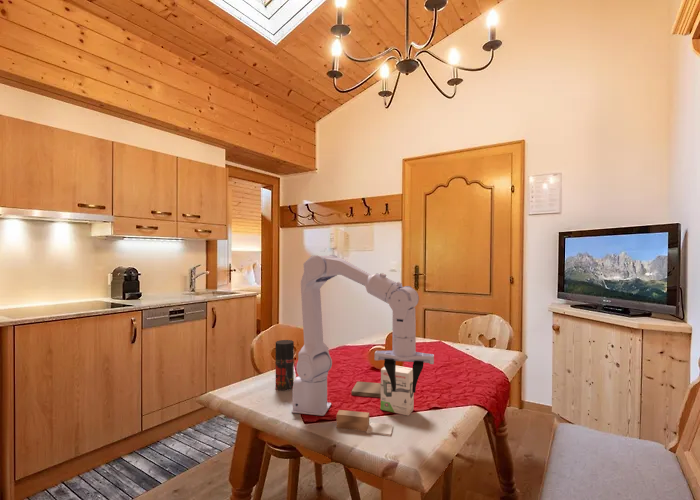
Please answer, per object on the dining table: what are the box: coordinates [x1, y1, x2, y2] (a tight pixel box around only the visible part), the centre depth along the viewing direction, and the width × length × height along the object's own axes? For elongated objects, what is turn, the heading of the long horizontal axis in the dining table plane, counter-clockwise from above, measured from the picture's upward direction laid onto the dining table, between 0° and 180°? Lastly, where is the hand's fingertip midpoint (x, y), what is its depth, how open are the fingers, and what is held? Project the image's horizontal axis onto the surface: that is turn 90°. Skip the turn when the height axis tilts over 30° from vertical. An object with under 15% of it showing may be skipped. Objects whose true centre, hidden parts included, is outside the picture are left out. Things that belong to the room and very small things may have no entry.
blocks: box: [336, 409, 394, 437], centre depth 95 cm, size 14×5×4 cm, turn 77°
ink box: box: [380, 365, 415, 417], centre depth 106 cm, size 9×5×12 cm, turn 62°
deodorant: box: [275, 339, 295, 392], centre depth 123 cm, size 6×6×15 cm
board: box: [350, 381, 381, 399], centre depth 119 cm, size 18×9×1 cm, turn 77°
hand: (404, 390), depth 92 cm, fingers open, 4 cm apart
